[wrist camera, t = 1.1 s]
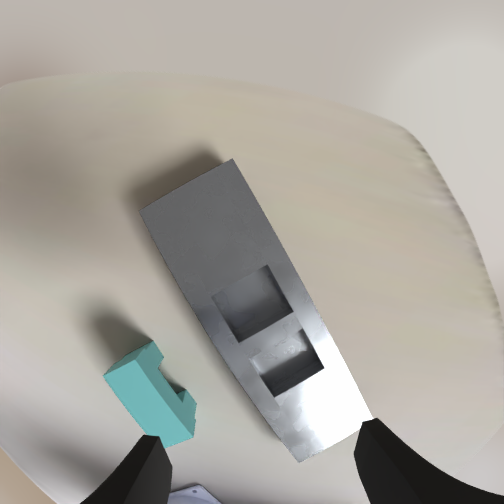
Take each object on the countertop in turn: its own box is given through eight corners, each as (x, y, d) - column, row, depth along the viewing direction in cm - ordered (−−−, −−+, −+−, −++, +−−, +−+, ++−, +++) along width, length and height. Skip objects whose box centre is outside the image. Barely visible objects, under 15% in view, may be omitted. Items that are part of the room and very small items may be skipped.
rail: (291, 444, 23) (298, 463, 20) (149, 216, 22) (138, 211, 19) (359, 405, 24) (372, 419, 21) (231, 169, 23) (232, 158, 20)
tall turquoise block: (197, 405, 23) (193, 437, 18) (169, 417, 22) (160, 449, 17) (152, 338, 22) (135, 359, 17) (124, 353, 22) (102, 375, 17)
